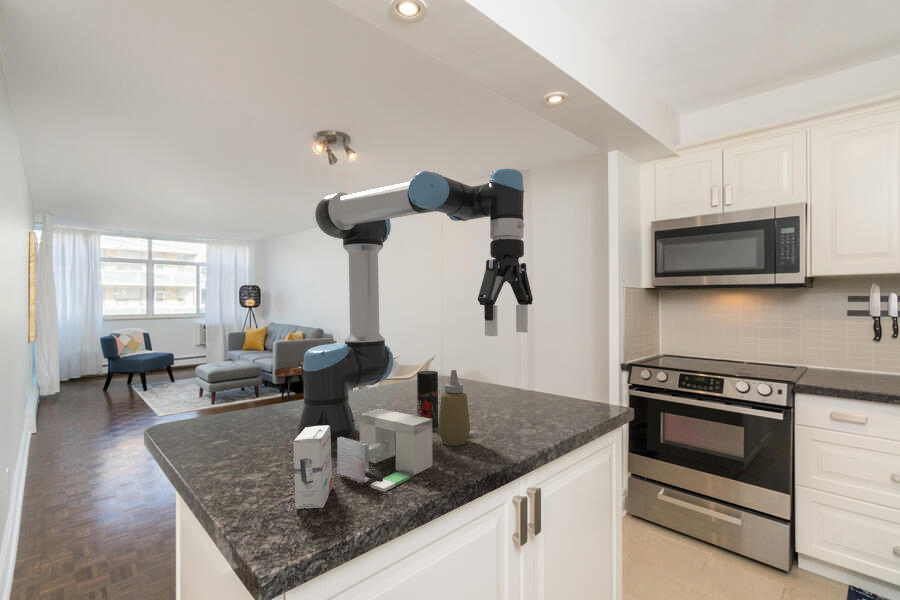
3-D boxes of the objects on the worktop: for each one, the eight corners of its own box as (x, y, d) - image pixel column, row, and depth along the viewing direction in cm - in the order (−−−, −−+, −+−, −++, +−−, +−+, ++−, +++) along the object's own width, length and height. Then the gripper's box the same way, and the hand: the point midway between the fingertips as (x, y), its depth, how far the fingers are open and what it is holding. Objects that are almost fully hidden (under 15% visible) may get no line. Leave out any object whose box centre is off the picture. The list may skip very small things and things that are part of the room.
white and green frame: (326, 471, 89) (326, 423, 89) (379, 450, 101) (379, 408, 101) (383, 491, 79) (383, 437, 79) (434, 466, 91) (433, 419, 91)
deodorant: (442, 424, 123) (441, 371, 123) (430, 429, 118) (429, 374, 118) (425, 421, 126) (425, 370, 126) (413, 426, 121) (412, 373, 121)
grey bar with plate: (337, 472, 86) (337, 438, 86) (372, 458, 94) (372, 426, 94) (379, 487, 79) (379, 449, 79) (413, 471, 87) (413, 436, 87)
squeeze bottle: (467, 449, 102) (467, 373, 102) (434, 447, 104) (434, 372, 104) (472, 438, 110) (472, 368, 110) (442, 436, 111) (441, 367, 112)
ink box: (305, 488, 81) (305, 425, 81) (332, 487, 82) (332, 424, 82) (292, 510, 72) (292, 439, 73) (323, 509, 73) (322, 438, 73)
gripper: (491, 231, 85) (491, 338, 85) (546, 244, 105) (547, 331, 105) (460, 235, 90) (461, 336, 90) (519, 246, 109) (519, 330, 109)
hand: (507, 334), depth 97 cm, fingers open, 13 cm apart
